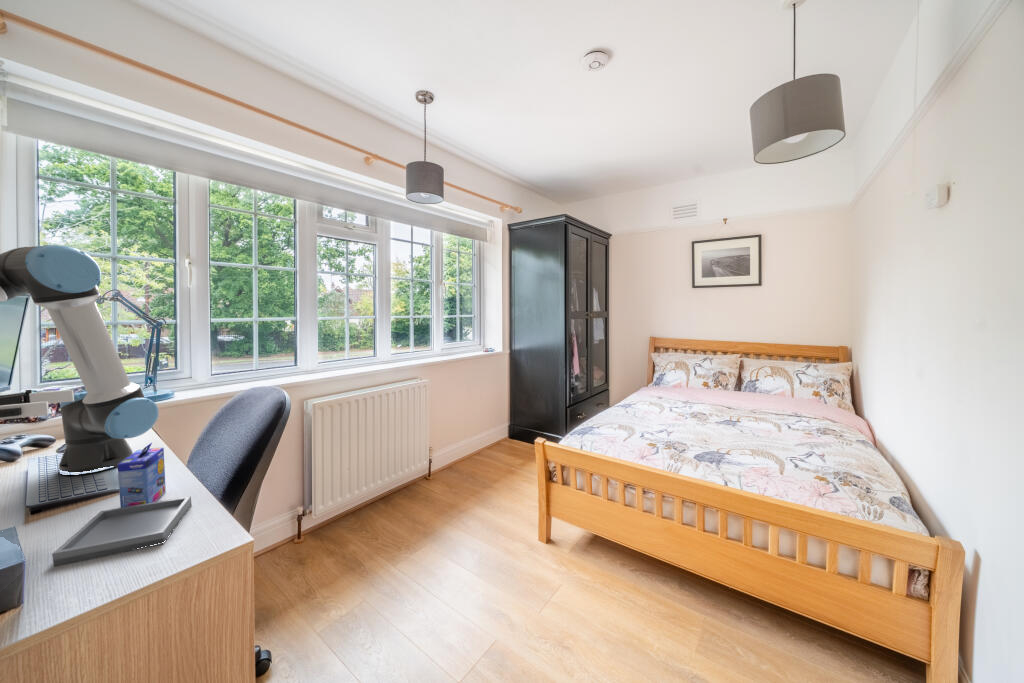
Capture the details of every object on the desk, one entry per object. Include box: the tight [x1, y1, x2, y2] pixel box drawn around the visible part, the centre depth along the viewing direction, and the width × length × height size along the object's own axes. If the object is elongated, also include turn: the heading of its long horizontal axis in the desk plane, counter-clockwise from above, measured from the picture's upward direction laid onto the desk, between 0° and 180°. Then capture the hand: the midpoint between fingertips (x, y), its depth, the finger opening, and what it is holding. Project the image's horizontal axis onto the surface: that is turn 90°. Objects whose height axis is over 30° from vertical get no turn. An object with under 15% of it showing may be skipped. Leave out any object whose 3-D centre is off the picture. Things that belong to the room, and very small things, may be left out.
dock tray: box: [51, 495, 192, 567], centre depth 81 cm, size 16×16×2 cm
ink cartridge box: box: [117, 442, 167, 508], centre depth 93 cm, size 10×6×14 cm, turn 24°
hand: (61, 401), depth 84 cm, fingers open, 13 cm apart
